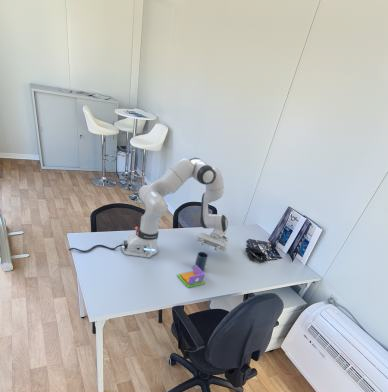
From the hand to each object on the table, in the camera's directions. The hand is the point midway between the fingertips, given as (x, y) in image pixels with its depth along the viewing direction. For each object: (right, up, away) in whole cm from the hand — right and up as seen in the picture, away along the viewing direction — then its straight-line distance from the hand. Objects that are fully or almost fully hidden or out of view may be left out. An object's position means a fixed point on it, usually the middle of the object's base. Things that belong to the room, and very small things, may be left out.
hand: (208, 246), depth 184 cm
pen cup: (-6, -14, -3) cm, 16 cm away
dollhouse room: (-11, -21, -13) cm, 27 cm away
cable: (+35, -4, +25) cm, 43 cm away
